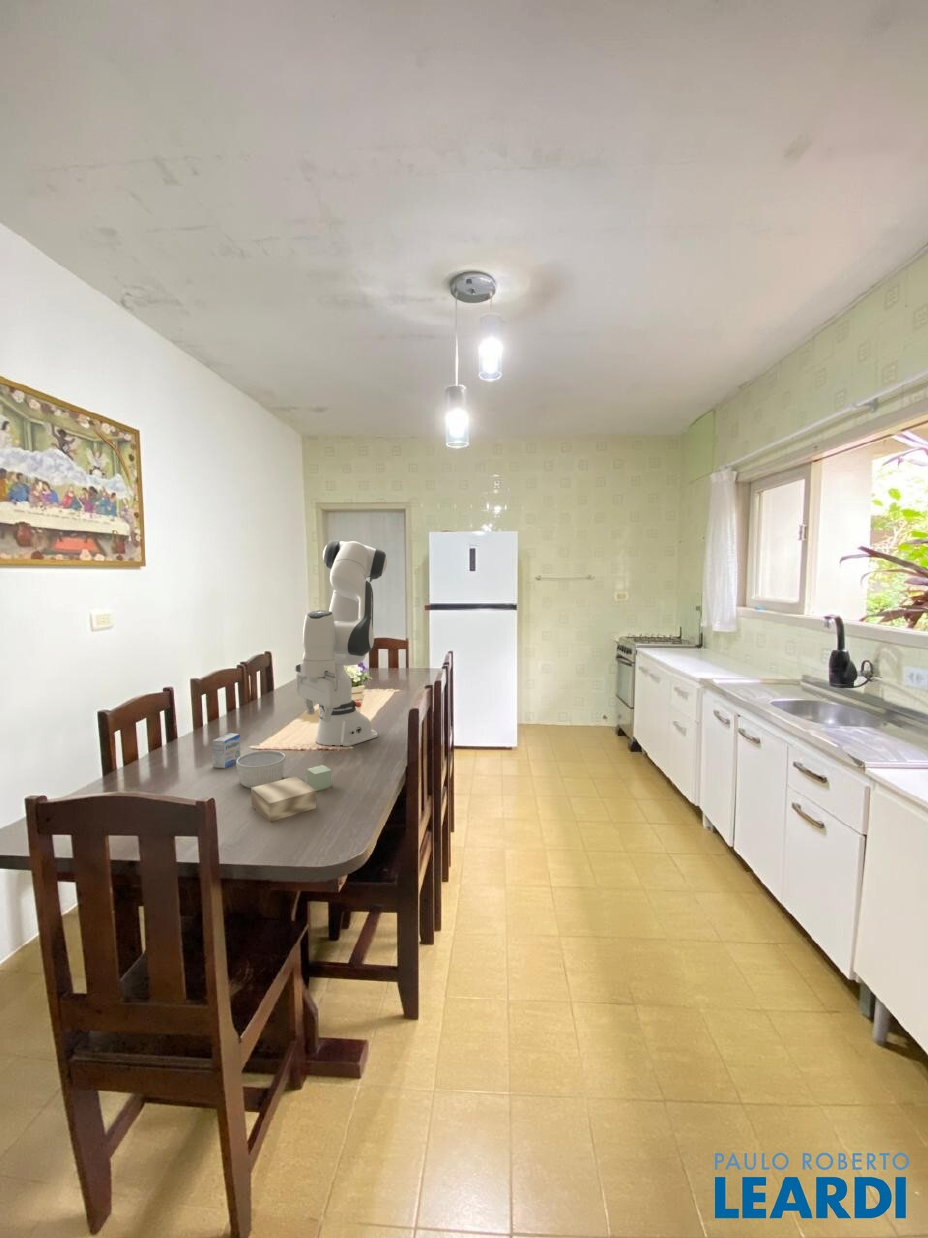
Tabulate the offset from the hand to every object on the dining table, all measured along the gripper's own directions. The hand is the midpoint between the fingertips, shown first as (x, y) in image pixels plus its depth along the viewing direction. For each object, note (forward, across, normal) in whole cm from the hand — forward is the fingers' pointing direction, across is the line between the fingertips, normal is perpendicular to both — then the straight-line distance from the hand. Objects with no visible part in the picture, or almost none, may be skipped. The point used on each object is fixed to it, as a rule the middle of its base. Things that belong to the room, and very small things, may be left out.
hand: (318, 717), depth 145 cm
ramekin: (+20, +14, +10) cm, 27 cm away
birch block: (+20, -6, +12) cm, 25 cm away
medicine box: (+20, +34, +14) cm, 42 cm away
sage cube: (+20, 0, 0) cm, 20 cm away
